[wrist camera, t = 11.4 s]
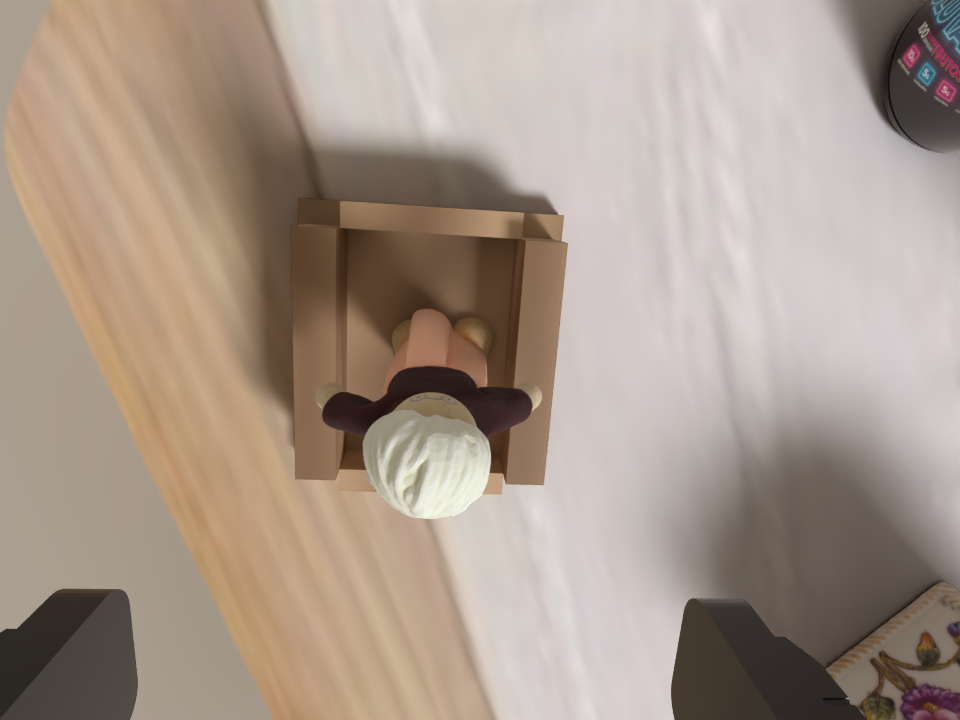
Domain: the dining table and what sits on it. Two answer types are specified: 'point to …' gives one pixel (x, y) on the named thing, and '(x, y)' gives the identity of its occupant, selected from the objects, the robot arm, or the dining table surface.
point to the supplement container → (926, 78)
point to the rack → (414, 286)
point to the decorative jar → (908, 662)
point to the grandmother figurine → (431, 416)
